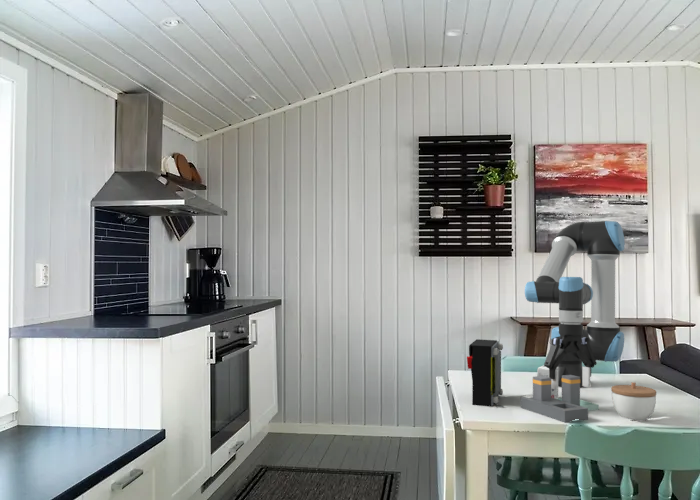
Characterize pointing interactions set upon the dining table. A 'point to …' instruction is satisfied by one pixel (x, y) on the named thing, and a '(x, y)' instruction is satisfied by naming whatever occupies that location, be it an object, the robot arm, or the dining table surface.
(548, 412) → the pdu strip
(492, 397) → the electrical component
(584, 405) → the tray
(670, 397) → the dining table surface
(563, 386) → the plug
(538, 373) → the ink box
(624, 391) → the lidded bowl
